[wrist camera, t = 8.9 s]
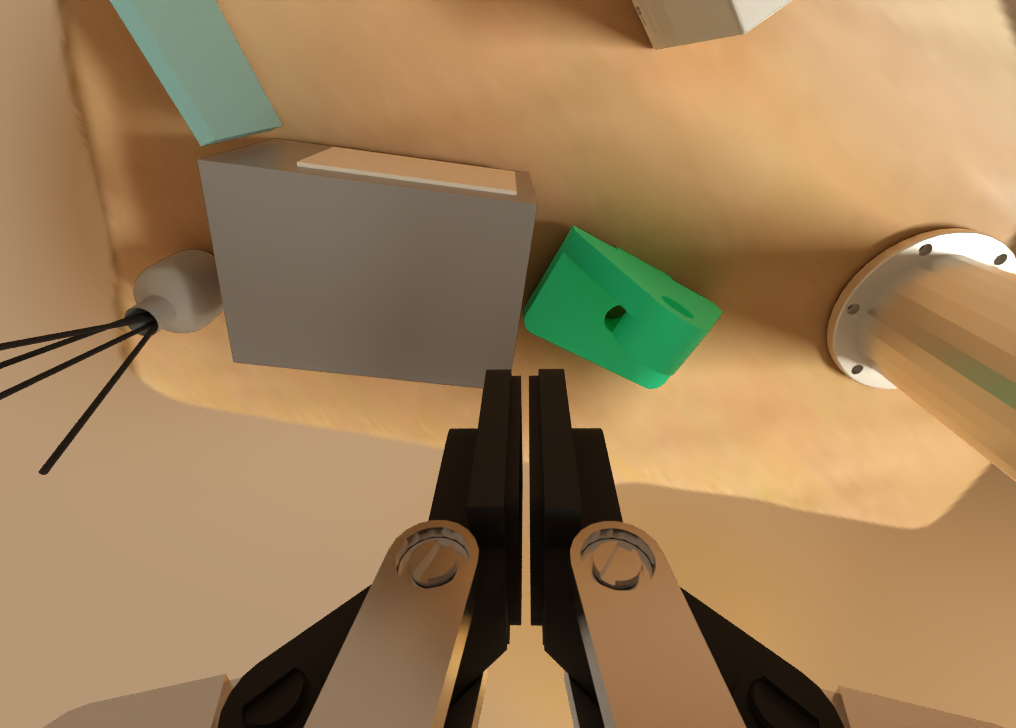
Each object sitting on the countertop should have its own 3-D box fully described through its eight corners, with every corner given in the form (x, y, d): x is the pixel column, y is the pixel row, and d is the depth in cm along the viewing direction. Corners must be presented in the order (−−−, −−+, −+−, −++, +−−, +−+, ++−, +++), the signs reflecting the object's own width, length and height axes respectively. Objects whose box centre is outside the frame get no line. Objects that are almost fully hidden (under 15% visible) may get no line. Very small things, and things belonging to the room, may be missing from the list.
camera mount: (517, 311, 37) (521, 386, 28) (571, 221, 33) (595, 273, 25) (647, 374, 40) (688, 460, 31) (709, 297, 36) (775, 368, 27)
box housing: (529, 169, 32) (537, 200, 24) (507, 325, 37) (508, 391, 29) (275, 134, 30) (196, 155, 23) (291, 300, 36) (233, 362, 28)
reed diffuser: (147, 296, 36) (-183, 501, 19) (131, 201, 32) (-292, 344, 15) (290, 322, 37) (104, 538, 20) (289, 233, 34) (62, 399, 16)
